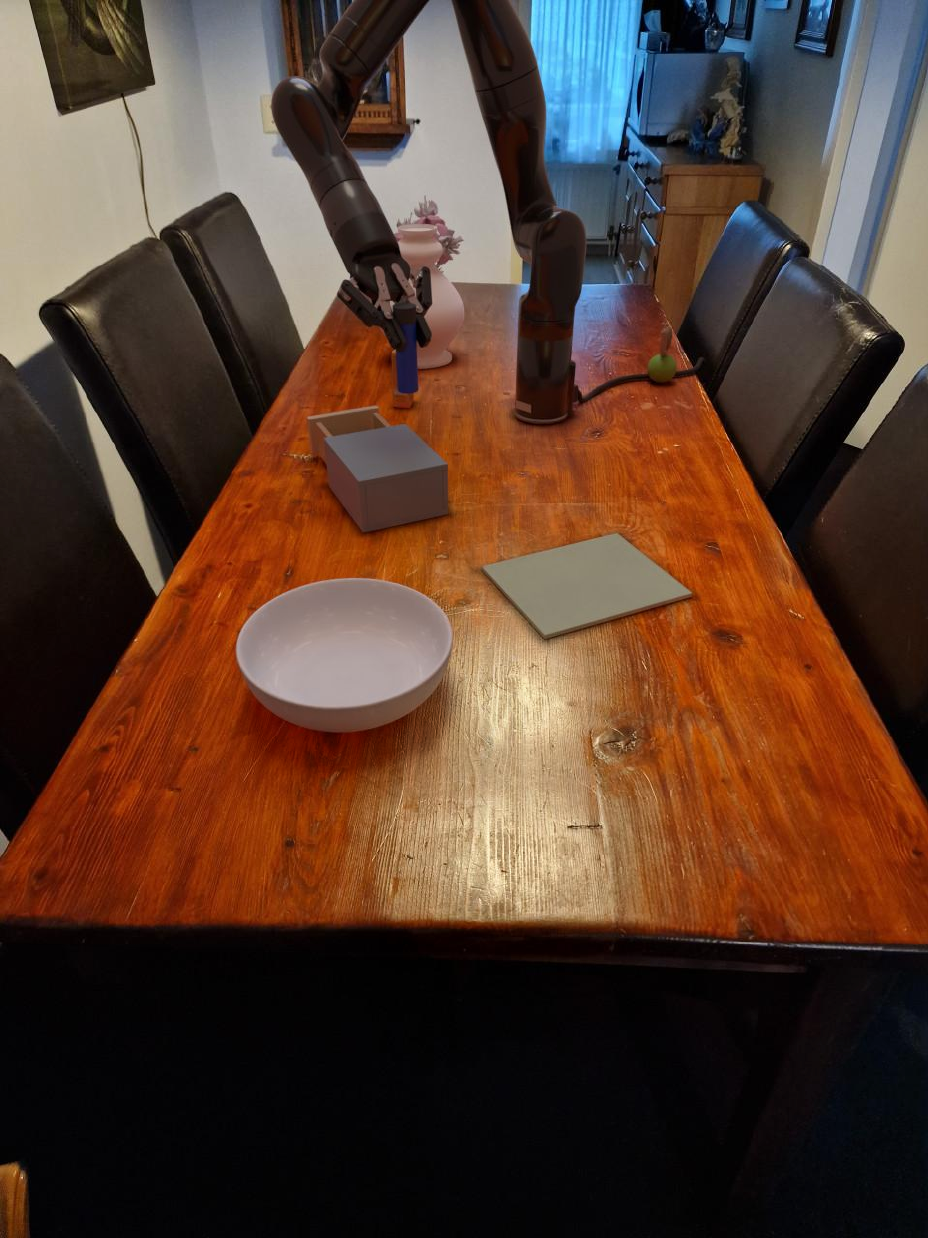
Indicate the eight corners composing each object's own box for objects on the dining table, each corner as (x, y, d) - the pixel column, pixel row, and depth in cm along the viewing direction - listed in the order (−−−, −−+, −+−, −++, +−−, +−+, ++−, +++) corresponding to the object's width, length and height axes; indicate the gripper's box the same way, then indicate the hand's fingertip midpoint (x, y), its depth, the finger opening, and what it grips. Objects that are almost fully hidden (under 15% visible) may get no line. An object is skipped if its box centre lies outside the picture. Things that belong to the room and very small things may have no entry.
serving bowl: (272, 790, 72) (261, 732, 68) (229, 656, 88) (217, 603, 84) (487, 725, 79) (488, 669, 75) (411, 611, 94) (408, 560, 90)
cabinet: (328, 486, 121) (323, 437, 117) (407, 470, 125) (405, 423, 121) (363, 533, 109) (358, 481, 105) (448, 514, 114) (448, 463, 109)
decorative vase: (481, 362, 168) (482, 229, 153) (407, 378, 159) (401, 240, 145) (434, 341, 180) (431, 216, 165) (363, 355, 171) (354, 225, 157)
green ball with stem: (642, 386, 156) (650, 321, 149) (648, 375, 161) (657, 312, 154) (670, 389, 154) (680, 324, 147) (676, 379, 159) (686, 315, 152)
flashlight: (414, 384, 112) (410, 301, 105) (422, 391, 109) (419, 306, 103) (393, 388, 111) (389, 303, 104) (401, 395, 108) (397, 309, 102)
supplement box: (410, 408, 146) (408, 352, 141) (392, 407, 147) (389, 351, 141) (415, 402, 149) (413, 347, 143) (397, 401, 150) (394, 345, 144)
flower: (343, 302, 201) (355, 207, 180) (413, 277, 212) (431, 185, 191) (394, 353, 195) (412, 262, 175) (463, 325, 206) (487, 236, 186)
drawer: (303, 442, 132) (299, 407, 129) (369, 430, 136) (367, 396, 133) (338, 488, 118) (334, 451, 115) (411, 474, 122) (410, 437, 119)
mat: (616, 536, 109) (617, 532, 108) (691, 597, 97) (692, 592, 96) (481, 570, 102) (481, 565, 101) (544, 639, 90) (544, 635, 89)
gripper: (318, 215, 99) (377, 340, 98) (414, 203, 106) (471, 320, 105) (303, 254, 106) (358, 372, 105) (395, 241, 113) (447, 352, 112)
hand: (414, 346), depth 105 cm, fingers closed on flashlight, 3 cm apart
